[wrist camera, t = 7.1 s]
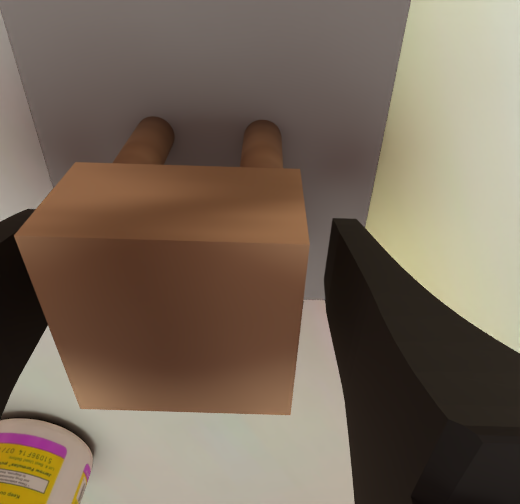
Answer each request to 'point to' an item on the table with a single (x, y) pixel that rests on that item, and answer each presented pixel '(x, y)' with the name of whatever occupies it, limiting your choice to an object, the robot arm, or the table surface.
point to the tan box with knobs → (174, 276)
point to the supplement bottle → (41, 463)
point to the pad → (218, 87)
